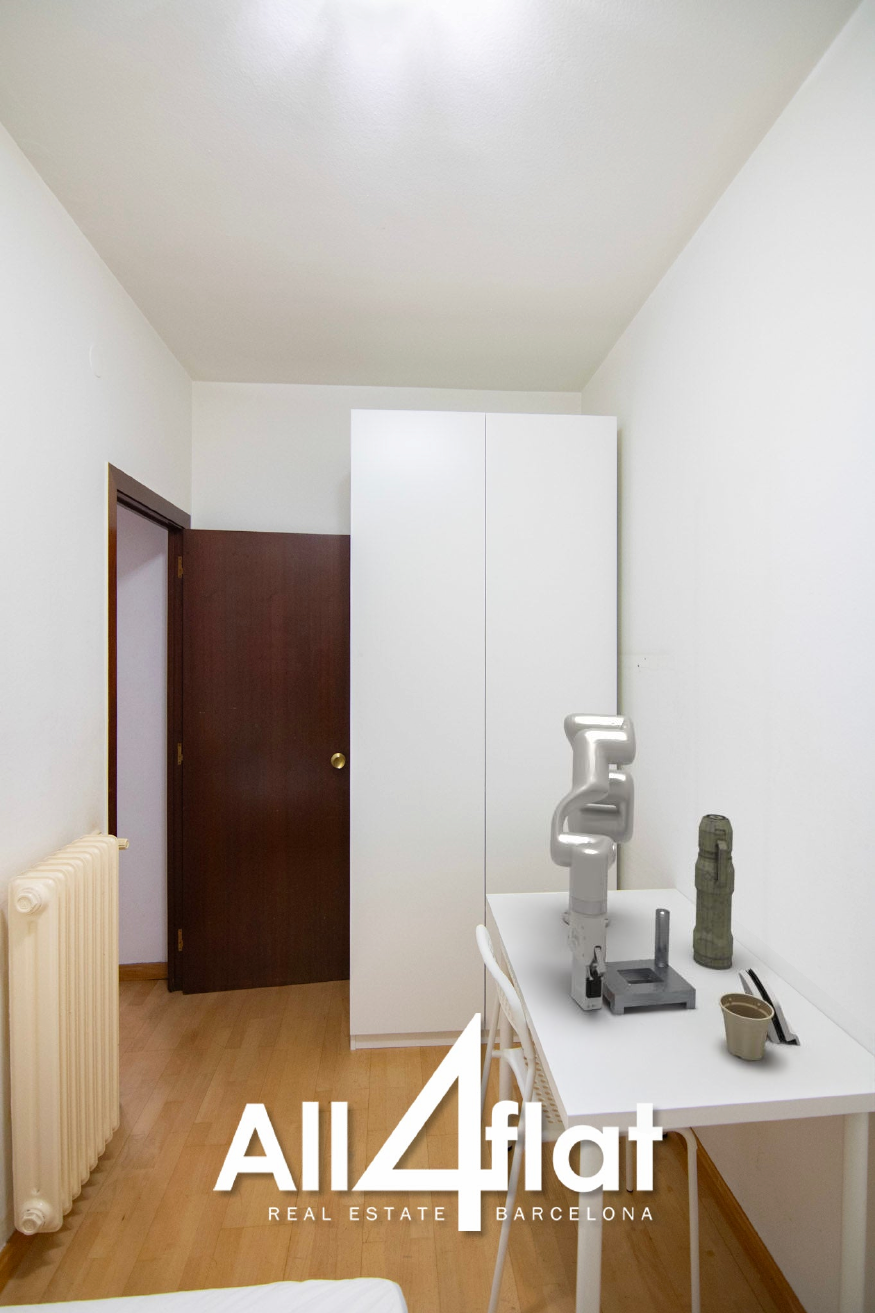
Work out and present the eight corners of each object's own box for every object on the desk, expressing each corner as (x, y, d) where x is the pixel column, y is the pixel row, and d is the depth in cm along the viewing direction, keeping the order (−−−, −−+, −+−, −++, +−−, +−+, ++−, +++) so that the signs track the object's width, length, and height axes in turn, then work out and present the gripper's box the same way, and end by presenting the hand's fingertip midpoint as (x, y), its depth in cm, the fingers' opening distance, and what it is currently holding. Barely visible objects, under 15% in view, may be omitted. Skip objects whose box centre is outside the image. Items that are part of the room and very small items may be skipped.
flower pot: (747, 1072, 119) (748, 1023, 119) (706, 1042, 127) (707, 997, 127) (784, 1059, 123) (785, 1013, 122) (742, 1032, 131) (743, 988, 131)
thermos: (705, 973, 155) (709, 823, 154) (684, 950, 167) (687, 810, 166) (742, 973, 155) (746, 823, 155) (718, 950, 167) (722, 810, 167)
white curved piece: (801, 1046, 127) (784, 995, 127) (776, 1052, 127) (758, 1001, 128) (771, 1000, 143) (755, 955, 144) (749, 1006, 144) (733, 961, 144)
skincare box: (602, 1008, 139) (604, 951, 138) (584, 1011, 137) (585, 954, 137) (588, 993, 144) (589, 939, 144) (570, 996, 143) (571, 941, 143)
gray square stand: (587, 981, 150) (589, 910, 150) (661, 975, 153) (663, 906, 153) (614, 1015, 136) (616, 937, 136) (695, 1008, 140) (697, 932, 139)
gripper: (557, 889, 148) (555, 969, 149) (588, 922, 131) (586, 1012, 132) (589, 888, 150) (587, 967, 150) (623, 920, 133) (621, 1009, 133)
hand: (586, 987), depth 141 cm, fingers closed on skincare box, 6 cm apart
